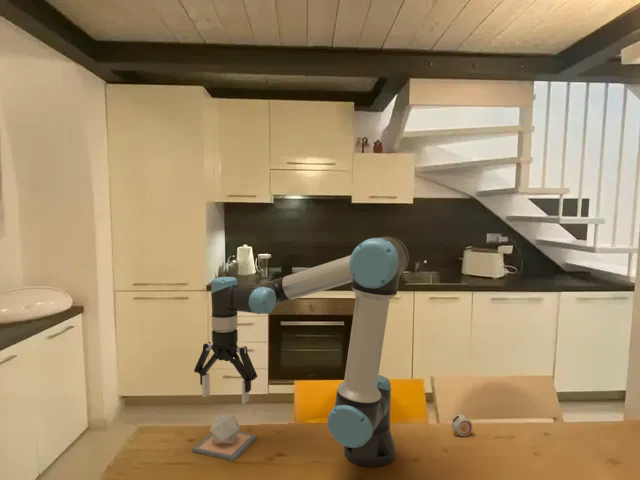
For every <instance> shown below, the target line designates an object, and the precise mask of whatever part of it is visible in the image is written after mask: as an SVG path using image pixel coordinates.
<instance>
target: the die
mask: <svg viewBox="0 0 640 480" xmlns="http://www.w3.org/2000/svg"><path fill="white" fill-rule="evenodd" d="M209 431H210V434H212V436H213V438H214V441H215V443H216V444H233V443H234V441H235V438H236V437H237V435H238V432H240V431H241V427H240V424H239V422H238V420H237V418H236V415H235V414H217V416H216V418H215V420H214V421H213V424H212V425H211V427H210V430H209Z"/></svg>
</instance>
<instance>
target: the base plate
mask: <svg viewBox="0 0 640 480" xmlns="http://www.w3.org/2000/svg"><path fill="white" fill-rule="evenodd" d="M257 439H258V435H257V434H251V433H247V432H241V431H239V432H238V435H237V437H236V438H235V441H234V443H233V444H216V443H215V441H214V438H213V436H212V434H211V433H209V434H208V435H207V436H206V437H204V438H203V439H202V440H201V441H200V442H198V443H197V444H196V445H195V446H193V447H192V448H191V453H194V452H197V453H196V454H198V453H203V454H207V455H211V456H210V457H212V456H215V457H214V458H216V457H218V458H217V459H221V458H223V459H222V460H225V459H228V460H227V461H230V460H231V462H235V461H236V460H237V459H238V458H239V457H240V456H242V454H243V453H244V452H245V451H246V450H247V449H248V448H249V447H250V445H252V444H253V443H254V442H255V441H256V440H257ZM203 454H202V455H203ZM207 455H206V456H207ZM234 460H235V461H234Z"/></svg>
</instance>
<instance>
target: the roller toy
mask: <svg viewBox="0 0 640 480" xmlns="http://www.w3.org/2000/svg"><path fill="white" fill-rule="evenodd" d="M450 423H451V424H450V425H451V428H452V434H453V435H454V436H456V437H457V436H461V437H466V436H469V434H471V433H472V431H473V423H472V421H471V419H469V418H468V417H467V416H466V415H464V414H456V415H455V416H453V418H452V420H451V422H450Z"/></svg>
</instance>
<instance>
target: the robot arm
mask: <svg viewBox="0 0 640 480" xmlns="http://www.w3.org/2000/svg"><path fill="white" fill-rule="evenodd" d="M409 257H410V256H409V252H408V248H407V246H406V245H405V244H404V243H403V242H402V241H401V240H399V238H396V237H393V236H380V237H373V238H372V237H371V238H369V239H366V240H364V241H362V242H360V243H359V244H358V245H357V246H356V247H355V248H354V250H353V251H352V253H351V255H347V256H344V257H342V258H337V259H335V260H332V261H329V262H326V263H322V264H318V265H317V266H313V267H311V268H307V269H304V270H301V271H298V272H295V273H291V274H288V275H285V276H283V277H280V278H276V279H272V280H270V281H267V282H263V283H259V284H256V285H241V284H239V283H238V279H237V278H236V277H234V276H218V277H215V278H213V279H212V280H211V291H210V294H211V295H210V297H211V329H212V331H211V341H207V342H206V343H203V345H202V351H201V354H200V356H199V358H198V360H197V362H196V365H195V368H194V370H193V371H194V373H197V374H199V380H200V381H199V383H200V385H201V386H202V387H201V388H202V391H201V392H202V393H201V395H202V396H201V397H202V398H207V396H209V395H210V394H211V393H210V392H211V391H210V390H211V388H210V384H211V383H210V373H209V370H210V369H211V368H212V367H213V365H214V364H215V363H216V362H217V361H224V362H229V363H230V364H232V365H233V367H234V368H235V369H236V371H237V372H238V373H239V375H240V376H241V378H242V379H243V380H242V381H241V405H242V404H243V405H244V404H246V403H247V402H249V401H250V393H249V392H250V391H252V381H254V380H255V379H256V378H258V374H257V372H256V370H255V368H254V367H255V366H254V365H253V362H252V361H251V358H250V356H249V354H248V353H249V352H248V347H247V345H244V346H243V347H242V346H241V347H239V346H238V341H239V340H238V339H239V338H238V336H239V334H238V329H237V328H238V312H242V313H249V314H250V313H252V314H255V315H257V314H258V315H263V314H264V315H268V314H271V313H272V312H273V310H275V307H276V306H277V305H280V304H282V303H286V302H289V301H293V300H295V299H300V298H302V297H306V296H309V295H312V294H316V293H320V292H323V291H326V290H330V289H333V288H336V287H339V286H343V285H347V284H349V283H351V289H352V290H353V292H354V293H355V295H356V296H355V303H354V308H353V309H354V310H353V316H352V324H351V329H350V335H349V336H350V338H349V345H348V351H347V358H346V359H347V360H346V365H345V373H344V380H343V381H342V382H340V383H339V384H338V386H337V388H336V394H335V395H336V396H335V402H334V407H332V408H331V410H330V411H329V413H328V417H327V428H328V431H329V433H330V434H331V435H332V437H333V438H334V440H335V441H336V442H338V443H339V444H341V445H342V446H343V454H344V456H345V457H346V459H347V460H348V461H350V462H351V463H353V464H356V465H358V466H361V467H368V468H369V467H370V468H373V467H374V468H377V467H378V468H379V467H383V466H386V465H389V464H391V463H392V462H393V461H394V460H395V458H396V453H397V452H396V444H395V441H394V437H393V435H392V431H391V403H392V402H391V397H392V394H391V393H392V385H391V380H390V379H389V378H388V377H387V376H383V375H380V372H379V371H380V365H381V359H382V358H381V357H382V353H383V347H384V346H383V345H384V340H385V332H386V327H387V325H386V324H387V320H388V313H389V308H390V307H389V306H390V300H391V299H392V298H394V297H396V296H397V294H398V287H399V282H400V276H401V275H402V274H404V272H405V271H406V269H407V267H408V264H409V261H410V260H409ZM211 351H212V352H213V354H212V355H211V356H210V359H209V360H208V361H207V359H208V356H209V354H210V352H211ZM206 361H207V362H206Z"/></svg>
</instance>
